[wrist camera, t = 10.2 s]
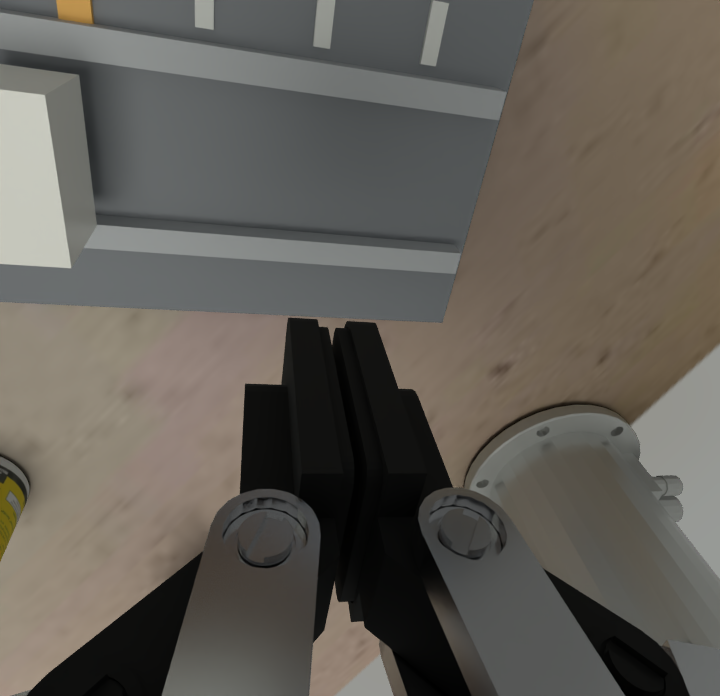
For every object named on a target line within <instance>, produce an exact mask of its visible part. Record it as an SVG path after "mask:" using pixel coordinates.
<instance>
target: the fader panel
mask: <svg viewBox="0 0 720 696" xmlns="http://www.w3.org/2000/svg"><path fill="white" fill-rule="evenodd" d="M533 1H534V0H0V64H5V65H12V66H19V67H27V68H34V69H41V70H48V71H56V72H63V73H70V74H77V75H79V79H80V87H81V96H82V104H83V113H84V121H85V129H86V138H87V146H88V155H89V163H90V172H91V180H92V188H93V197H94V205H95V214H96V222H97V226H96V228H95V230H94V231H93V233H92V235H91V236H90V238H89V240H88V241H87V243H86V245H85V246H84V248H83V250H82V251H81V253H80V255H79V256H78V258H77V260H76V261H75V263H74V265H73V266H72V268H59V267H42V266H26V265H10V264H0V302H15V303H36V304H57V305H78V306H100V307H121V308H142V309H163V310H184V311H206V312H227V313H248V314H269V315H290V316H312V317H333V318H354V319H375V320H396V321H418V322H439V323H442V322H443V318H444V315H445V311H446V308H447V304H448V301H449V297H450V294H451V290H452V287H453V283H454V280H455V276H456V273H457V269H458V266H459V262H460V258H461V255H462V251H463V248H464V244H465V241H466V237H467V234H468V230H469V227H470V223H471V220H472V216H473V213H474V209H475V206H476V202H477V198H478V195H479V191H480V188H481V184H482V181H483V177H484V174H485V170H486V167H487V163H488V160H489V156H490V153H491V149H492V146H493V142H494V139H495V135H496V131H497V128H498V124H499V121H500V117H501V114H502V110H503V107H504V103H505V100H506V96H507V93H508V89H509V86H510V82H511V79H512V75H513V71H514V68H515V64H516V61H517V57H518V54H519V50H520V47H521V43H522V40H523V36H524V33H525V29H526V26H527V22H528V19H529V15H530V11H531V8H532V4H533Z"/></svg>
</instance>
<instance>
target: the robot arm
mask: <svg viewBox="0 0 720 696" xmlns="http://www.w3.org/2000/svg"><path fill="white" fill-rule="evenodd" d="M639 456H640V444H639V440H638V438H637V435H636V433H635V432H634V430H633V429H632V428H631V427H630V425H629V424H628V423H627V422H626V420H624V419H623V418H622V417H621V416H620V415H618V414H617V413H615V412H613V411H611V410H609V409H606V408H603V407H598V406H593V405H570V406H563V407H556V408H553V409H549V410H546V411H542V412H539V413H537V414H534V415H532V416H530V417H527V418H525V419H523V420H521V421H519V422H517V423H516V424H514V425H512V426H511V427H509V428H507V429H506V430H504V431H503V432H502V433H500V434H499V435H498V436H497V437H495V438H494V439H493V440H492V441H491V442H490V443H489V444H488V445H487V446H486V447H485V448H484V449H483V450H482V451H481V452H480V453H479V455H478V456H477V458H476V459H475V461H474V462H473V463H472V465H471V467H470V469H469V472H468V474H467V476H466V480H465V485H464V488H453V486H452V484H451V481H450V478H449V476H448V473H447V471H446V468H445V466H444V463H443V460H442V458H441V455H440V453H439V450H438V447H437V445H436V442H435V440H434V437H433V434H432V432H431V429H430V427H429V424H428V421H427V419H426V416H425V414H424V411H423V409H422V406H421V403H420V401H419V398H418V396H417V394H416V392H415V391H414V390H412V389H398V386H397V383H396V380H395V377H394V374H393V372H392V369H391V366H390V363H389V360H388V357H387V354H386V351H385V348H384V345H383V342H382V340H381V337H380V334H379V331H378V328H377V325H376V323H370V322H353V321H347V322H346V324H345V327H344V328H336V329H335V332H334V337H333V344H332V345H331V340H330V335H329V330H328V328H327V327H319V325H318V320H317V319H302V318H288V323H287V332H286V342H285V353H284V364H283V374H282V385H268V384H245V398H244V419H243V439H242V460H241V481H240V495H238V496H236V497H234V498H233V499H231V500H229V501H228V502H227V503H226V504H225V505H224V506H223V507H222V508H221V509H220V510H219V511H218V512H217V514H216V516H215V518H214V520H213V522H212V524H211V527H210V530H209V534H208V537H207V540H206V544H205V547H204V551H203V552H202V553H200V554H199V555H198V556H197V557H195V558H194V559H193V560H191V561H190V562H189V563H188V564H186V565H185V566H184V567H183V568H181V569H180V570H179V571H177V572H176V573H175V574H174V575H172V576H171V577H170V578H169V579H167V580H166V581H165V582H164V583H162V584H161V585H160V586H158V587H157V588H156V589H155V590H153V591H152V592H151V593H150V594H148V595H147V596H146V597H144V598H143V599H142V600H141V601H139V602H138V603H137V604H136V605H134V606H133V607H132V608H130V609H129V610H128V611H127V612H125V613H124V614H123V615H122V616H120V617H119V618H118V619H117V620H115V621H114V622H113V623H111V624H110V625H109V626H108V627H106V628H105V629H104V630H103V631H101V632H100V633H99V634H97V635H96V636H95V637H94V638H92V639H91V640H90V641H89V642H87V643H86V644H85V645H84V646H82V647H81V648H80V649H78V650H77V651H76V652H75V653H73V654H72V655H71V656H70V657H68V658H67V659H66V660H64V661H63V662H62V663H61V664H59V665H58V666H57V667H56V668H54V669H53V670H52V671H51V672H49V673H48V674H47V675H46V676H45V677H44V678H43V679H42V680H41V681H40V682H39V683H38V684H37V685H36V686H35V687H34V688H33V689H32V690H29V691H26V692H22V693H19V694H15V695H12V696H309V690H310V676H311V662H312V649H313V643H314V641H315V640H316V639H317V638H318V637H319V636H320V634H321V633H322V632H323V631H324V628H325V624H326V619H327V614H328V609H329V605H330V600H331V595H332V590H333V586H334V581H335V587H336V594H337V599H338V601H339V602H348V604H349V611H350V618H351V622H357V621H364V626H365V628H366V629H367V630H369V631H370V632H371V633H372V634H373V635H375V636H376V637H377V638H378V639H380V642H379V647H380V653H381V658H382V661H383V664H384V667H385V670H386V673H387V676H388V680H389V683H390V686H391V689H392V692H393V695H394V696H720V579H719V578H718V577H717V575H716V574H715V573H714V571H713V570H712V569H711V568H710V566H709V565H708V564H707V562H706V561H705V560H704V559H703V557H702V556H701V555H700V553H699V552H698V551H697V550H696V548H695V547H694V546H693V544H692V543H691V542H690V541H689V539H688V538H687V537H686V535H685V534H684V533H683V532H682V530H681V529H680V528H679V527H678V525H677V524H676V523H675V522H678V521H679V520H680V519H681V518H682V515H683V509H682V505H681V503H680V501H679V500H678V499H677V498H676V497H675V496H676V495H680V494H681V493H682V490H683V484H682V482H681V480H680V478H678V477H677V476H656V477H651V475H650V474H649V473H648V472H647V471H646V470H645V468H644V467H643V466H642V465H641V463H640V462H639Z"/></svg>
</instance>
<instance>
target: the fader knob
mask: <svg viewBox="0 0 720 696" xmlns="http://www.w3.org/2000/svg"><path fill="white" fill-rule="evenodd" d="M96 226H97V222H96V214H95V205H94V197H93V188H92V180H91V172H90V163H89V155H88V146H87V138H86V129H85V121H84V113H83V104H82V96H81V87H80V79H79V75H77V74H70V73H63V72H56V71H48V70H41V69H34V68H27V67H19V66H12V65H5V64H0V264H10V265H26V266H42V267H59V268H72V266H73V265H74V263H75V261H76V260H77V258H78V256H79V255H80V253H81V251H82V250H83V248H84V246H85V245H86V243H87V241H88V240H89V238H90V236H91V235H92V233H93V231H94V230H95V228H96Z"/></svg>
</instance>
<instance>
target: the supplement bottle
mask: <svg viewBox="0 0 720 696" xmlns="http://www.w3.org/2000/svg"><path fill="white" fill-rule="evenodd" d="M28 496H29V484H28V481H27V479H26V477H25V475H24V474H23V472H22V471H21V470H20V469H19V468H18V467H17V466H16V465H14V464H13V463H11V462H10V461H8V460H6V459H4V458H2V457H0V561H1V559H2V556H3V554H4V552H5V549H6V548H7V545H8V543H9V540H10V538H11V536H12V533H13V531H14V529H15V527H16V524H17V522H18V520H19V518H20V516H21V513H22V511H23V508H24V506H25V504H26V501H27V499H28Z"/></svg>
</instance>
